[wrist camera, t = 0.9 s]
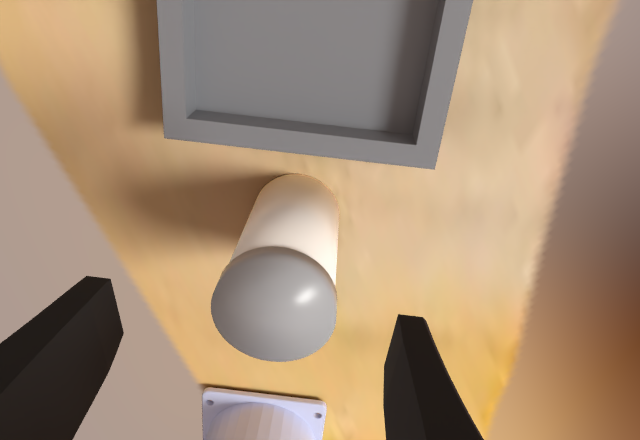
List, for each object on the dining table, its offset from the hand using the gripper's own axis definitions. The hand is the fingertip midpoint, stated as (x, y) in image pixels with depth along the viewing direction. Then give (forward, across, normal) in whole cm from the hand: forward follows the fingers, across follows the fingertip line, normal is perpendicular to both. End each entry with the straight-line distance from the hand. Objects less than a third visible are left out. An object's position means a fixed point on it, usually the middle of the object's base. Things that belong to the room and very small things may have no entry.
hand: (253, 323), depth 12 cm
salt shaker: (+12, 0, +5) cm, 13 cm away
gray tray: (+13, 0, -5) cm, 14 cm away
